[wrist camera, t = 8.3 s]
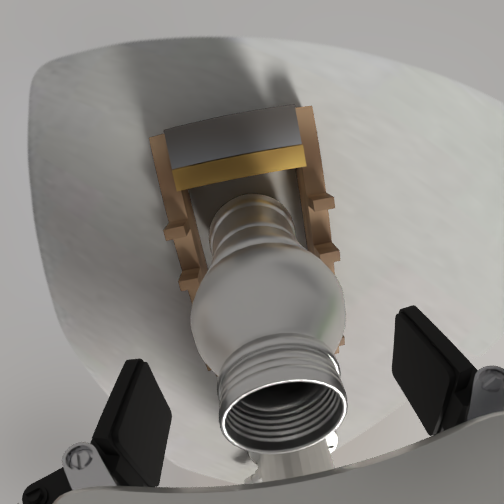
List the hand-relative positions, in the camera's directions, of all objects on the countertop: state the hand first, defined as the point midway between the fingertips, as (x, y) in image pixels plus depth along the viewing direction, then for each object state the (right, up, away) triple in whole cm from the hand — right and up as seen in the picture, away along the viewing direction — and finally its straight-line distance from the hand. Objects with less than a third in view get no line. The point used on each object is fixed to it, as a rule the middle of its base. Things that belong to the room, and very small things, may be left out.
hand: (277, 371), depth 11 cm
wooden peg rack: (-1, +5, +17) cm, 17 cm away
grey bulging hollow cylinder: (-1, +6, +16) cm, 17 cm away
